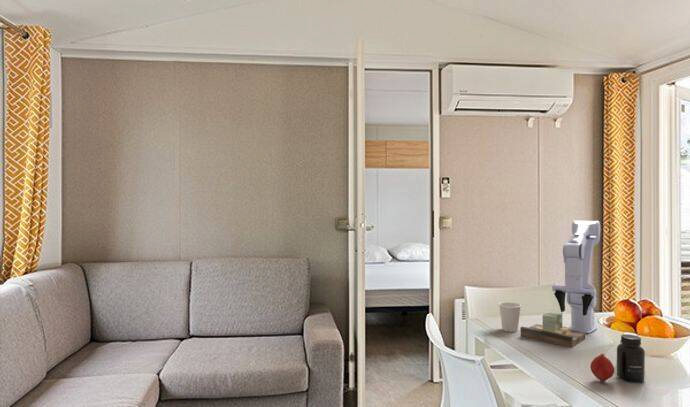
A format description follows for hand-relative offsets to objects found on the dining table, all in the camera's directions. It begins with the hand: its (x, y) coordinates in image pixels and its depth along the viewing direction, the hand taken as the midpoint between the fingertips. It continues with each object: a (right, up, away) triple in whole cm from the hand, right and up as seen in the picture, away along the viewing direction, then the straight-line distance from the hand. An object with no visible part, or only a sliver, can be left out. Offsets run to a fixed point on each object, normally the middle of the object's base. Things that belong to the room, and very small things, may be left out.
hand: (573, 313), depth 168 cm
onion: (-12, -10, -39) cm, 42 cm away
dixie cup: (-19, -10, +12) cm, 25 cm away
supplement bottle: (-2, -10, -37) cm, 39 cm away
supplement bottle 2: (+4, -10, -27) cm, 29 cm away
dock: (-7, -9, +2) cm, 12 cm away
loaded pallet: (-7, -7, +1) cm, 10 cm away
